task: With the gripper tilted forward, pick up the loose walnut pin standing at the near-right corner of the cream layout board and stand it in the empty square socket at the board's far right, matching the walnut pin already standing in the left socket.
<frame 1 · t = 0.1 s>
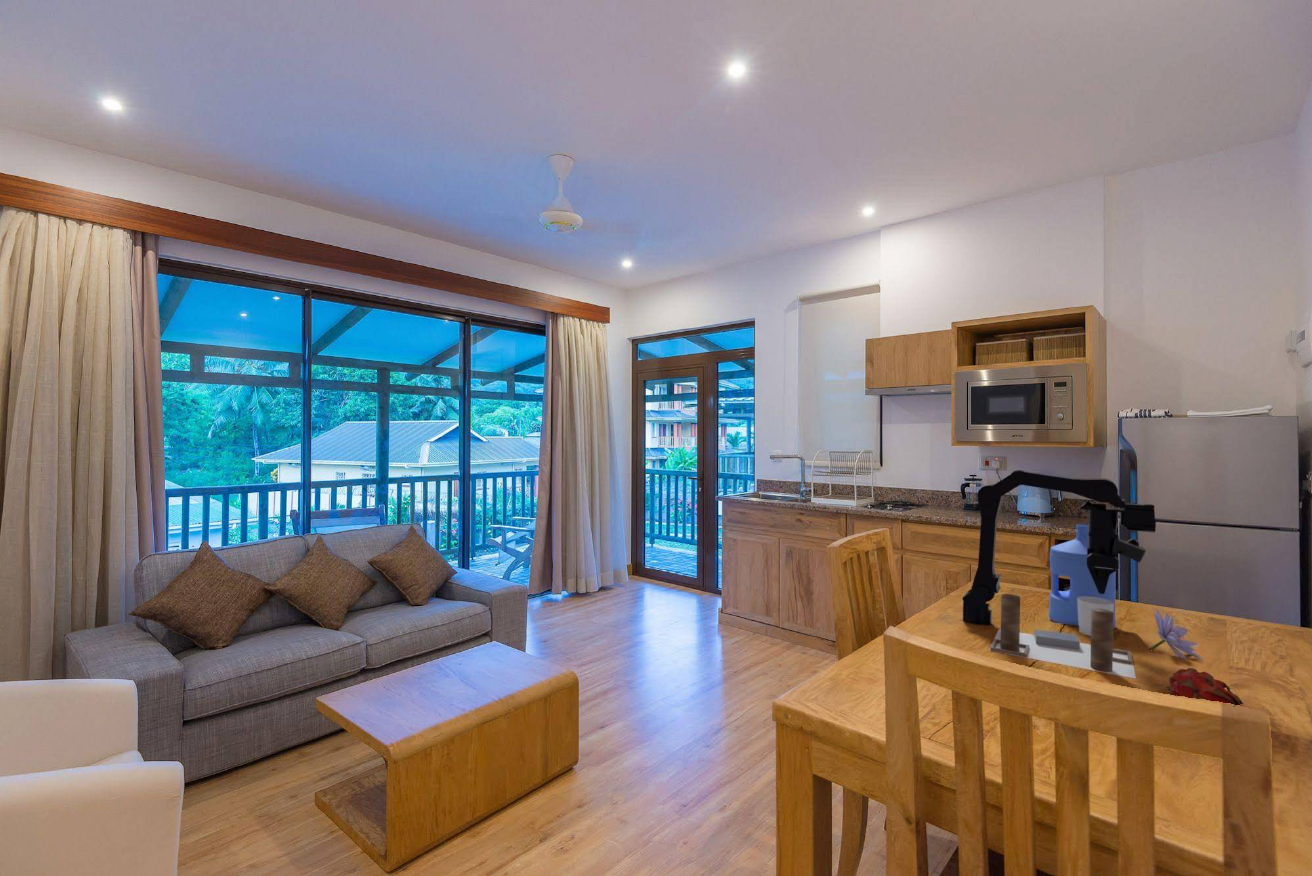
hand: (1101, 589, 153), 15 cm above the table, tool pointing down, fingers open, 9 cm apart
water lily: (1176, 658, 147), on the table
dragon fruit: (1204, 713, 118), on the table
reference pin: (1009, 649, 148), point 1 cm above the table, touching layout board
water jug: (1081, 624, 173), on the table
pin: (1101, 668, 136), point 1 cm above the table, touching layout board
white cup: (1094, 638, 160), on the table
layout board: (1059, 655, 147), on the table
cover: (1056, 643, 152), resting on layout board
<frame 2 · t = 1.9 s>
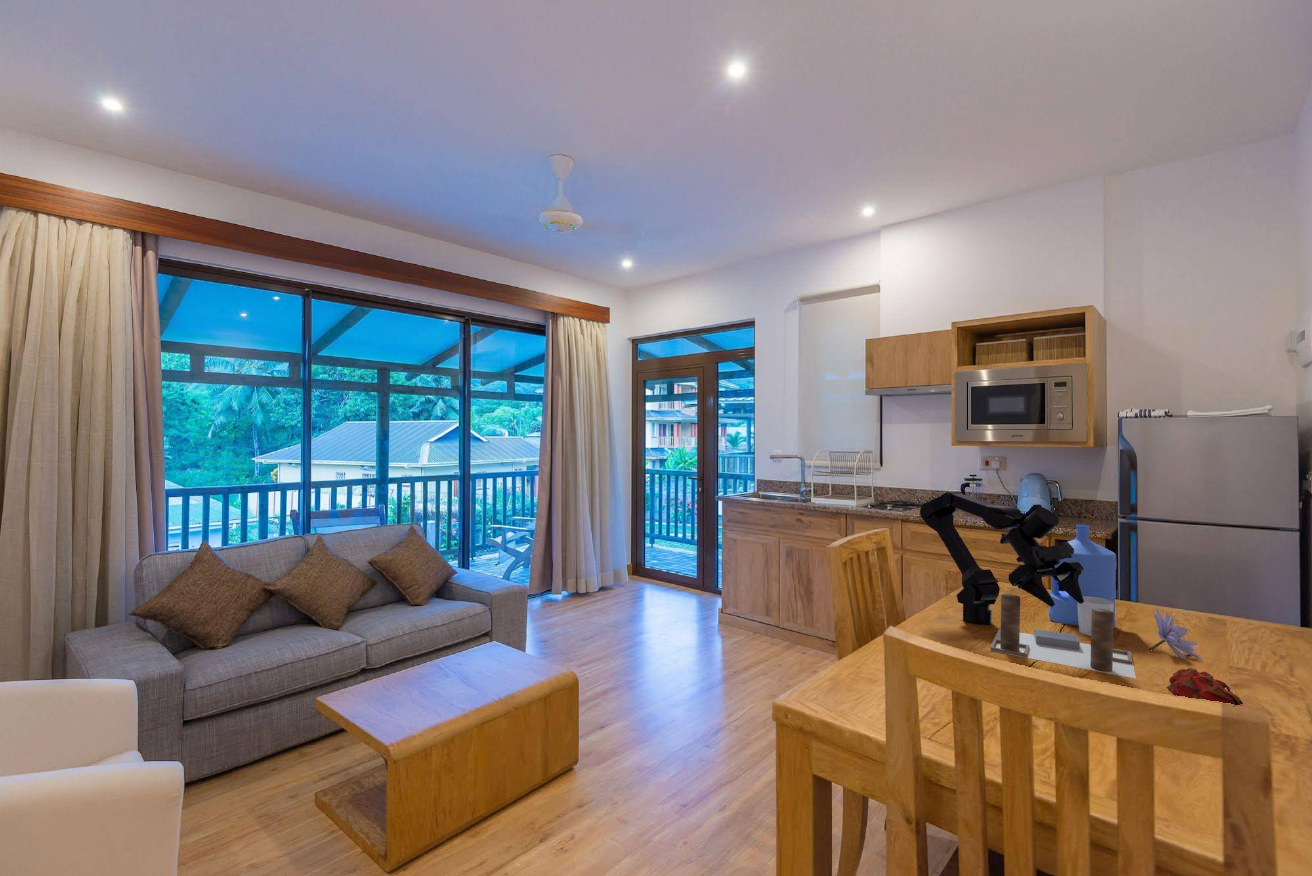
hand: (1067, 604, 144), 13 cm above the table, tool tilted 45°, fingers open, 9 cm apart
nothing on the table moved.
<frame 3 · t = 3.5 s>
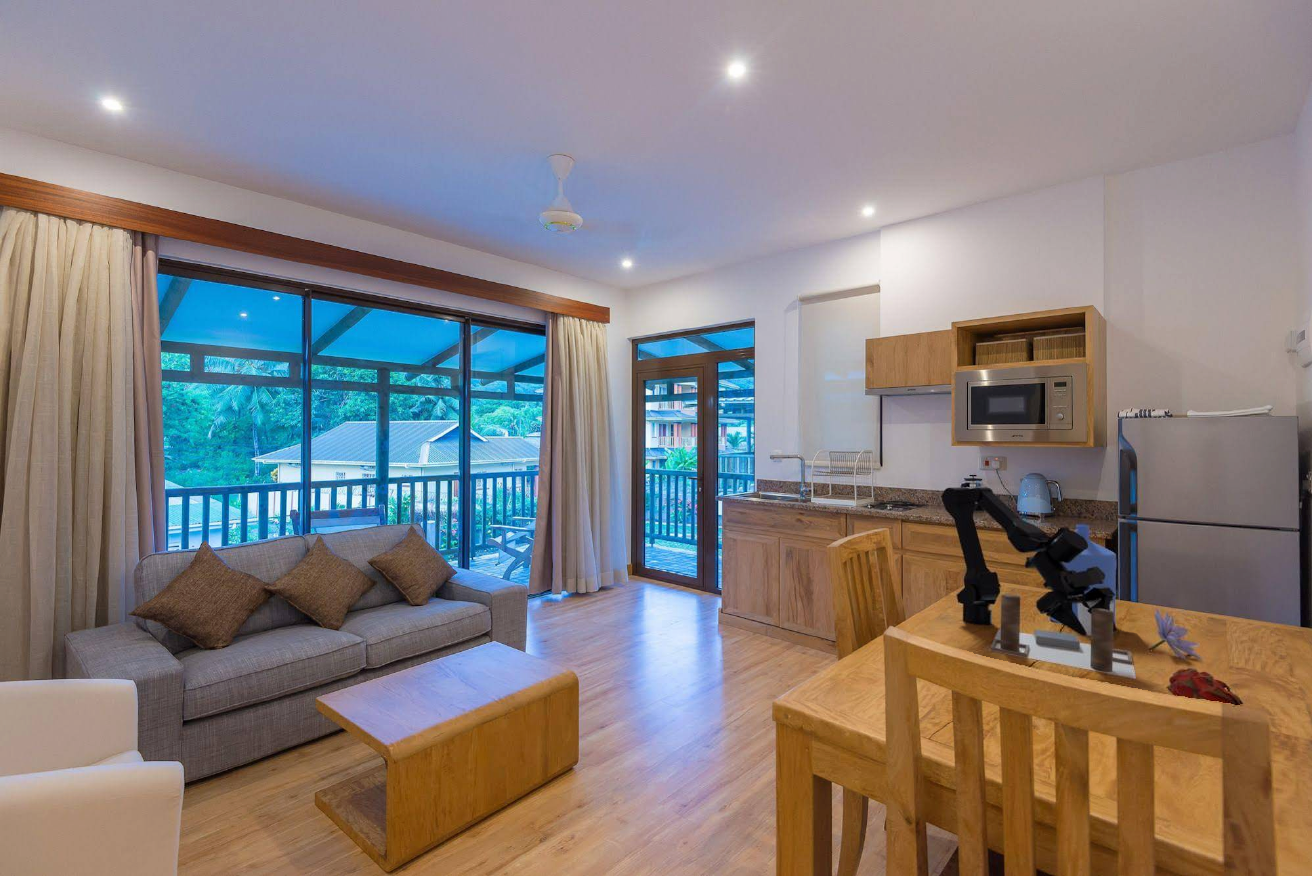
hand: (1100, 633, 136), 9 cm above the table, tool tilted 45°, fingers open, 9 cm apart
nothing on the table moved.
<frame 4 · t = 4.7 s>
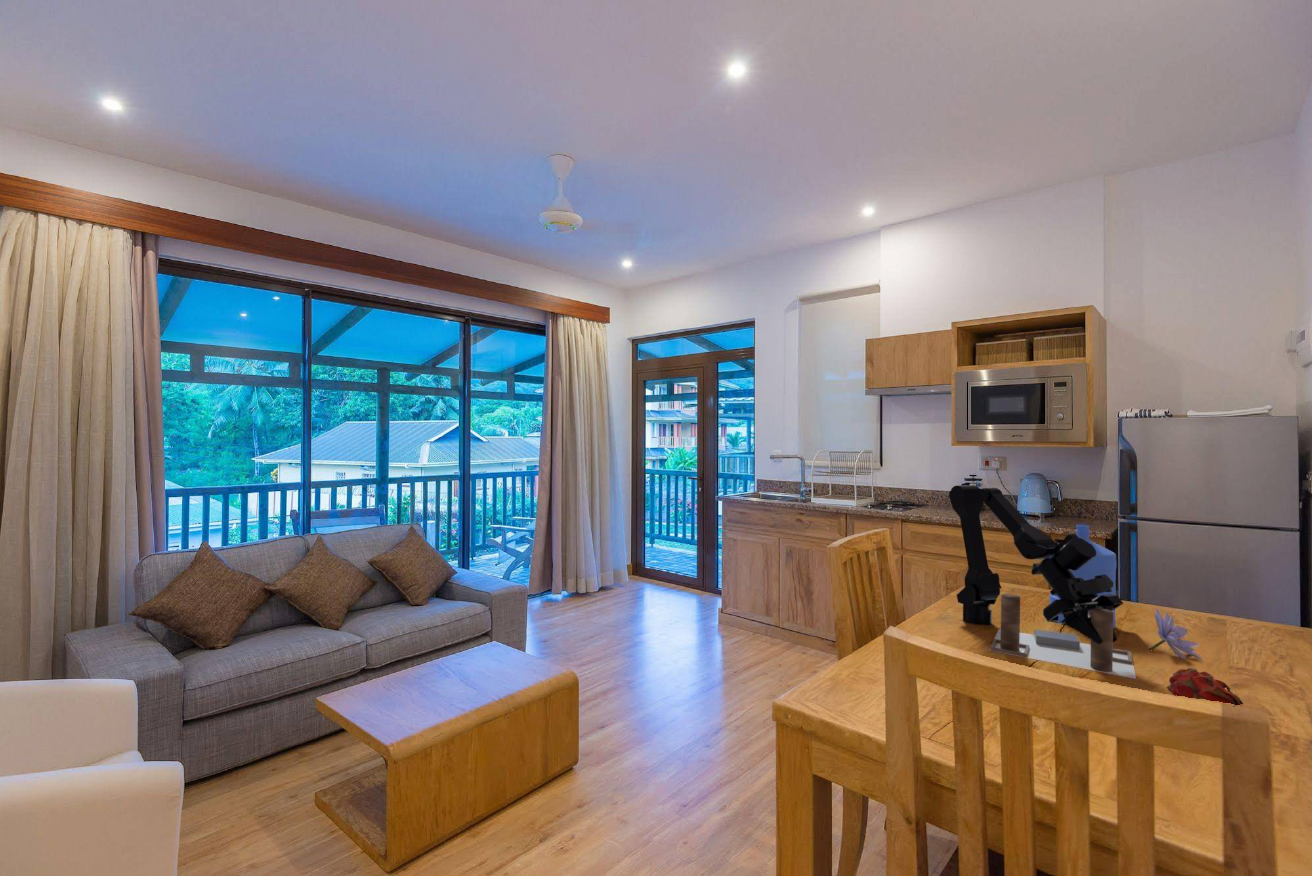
hand: (1108, 642, 135), 8 cm above the table, tool tilted 45°, fingers closed on pin, 4 cm apart
pin: (1101, 668, 136), point 1 cm above the table, touching gripper, layout board
everything else where it was.
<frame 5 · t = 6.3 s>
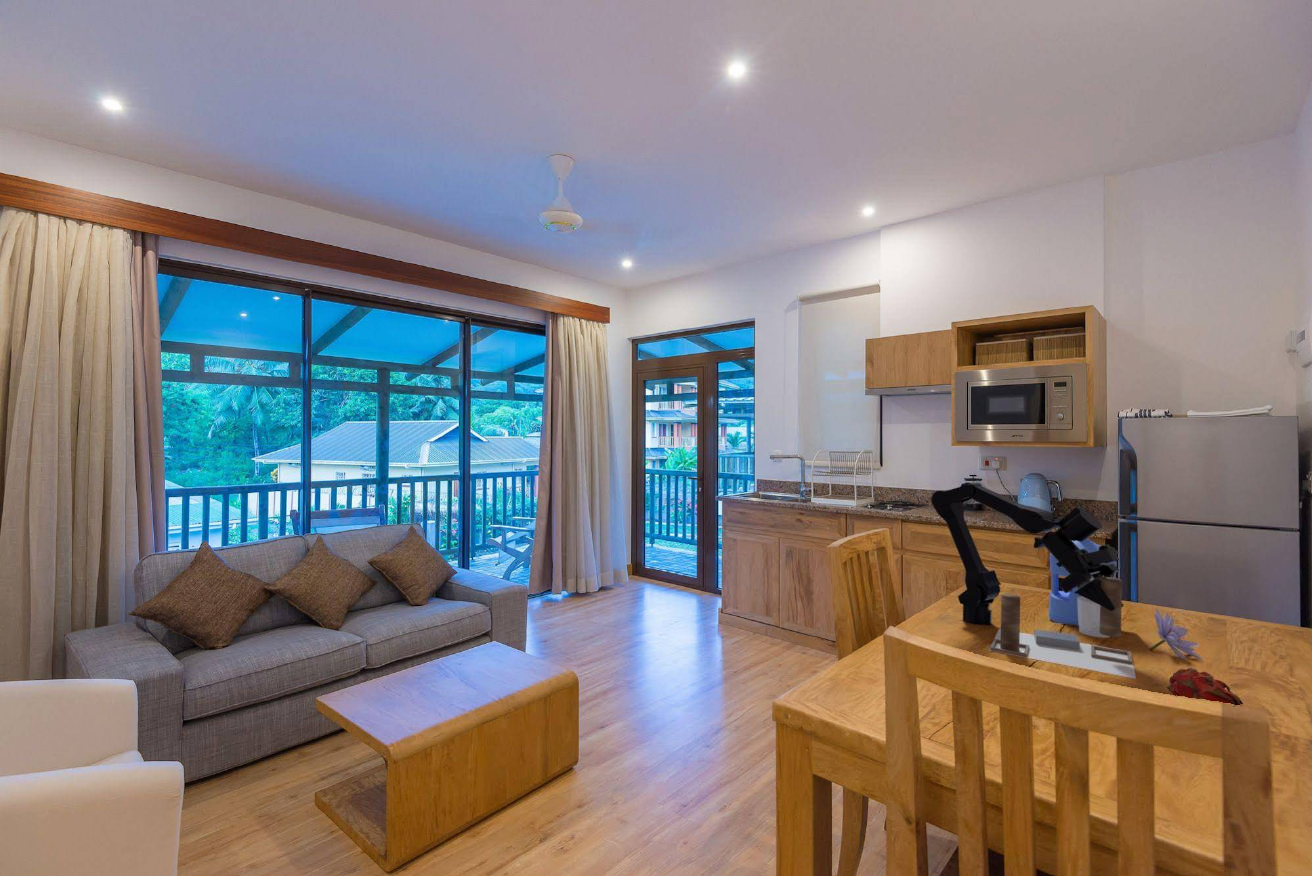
hand: (1117, 608, 141), 13 cm above the table, tool tilted 45°, fingers closed on pin, 4 cm apart
pin: (1110, 634, 142), point 7 cm above the table, touching gripper
everything else where it was.
when the fingers open (9 cm above the table, at t = 7.8 s): pin drops 1 cm, resting on layout board.
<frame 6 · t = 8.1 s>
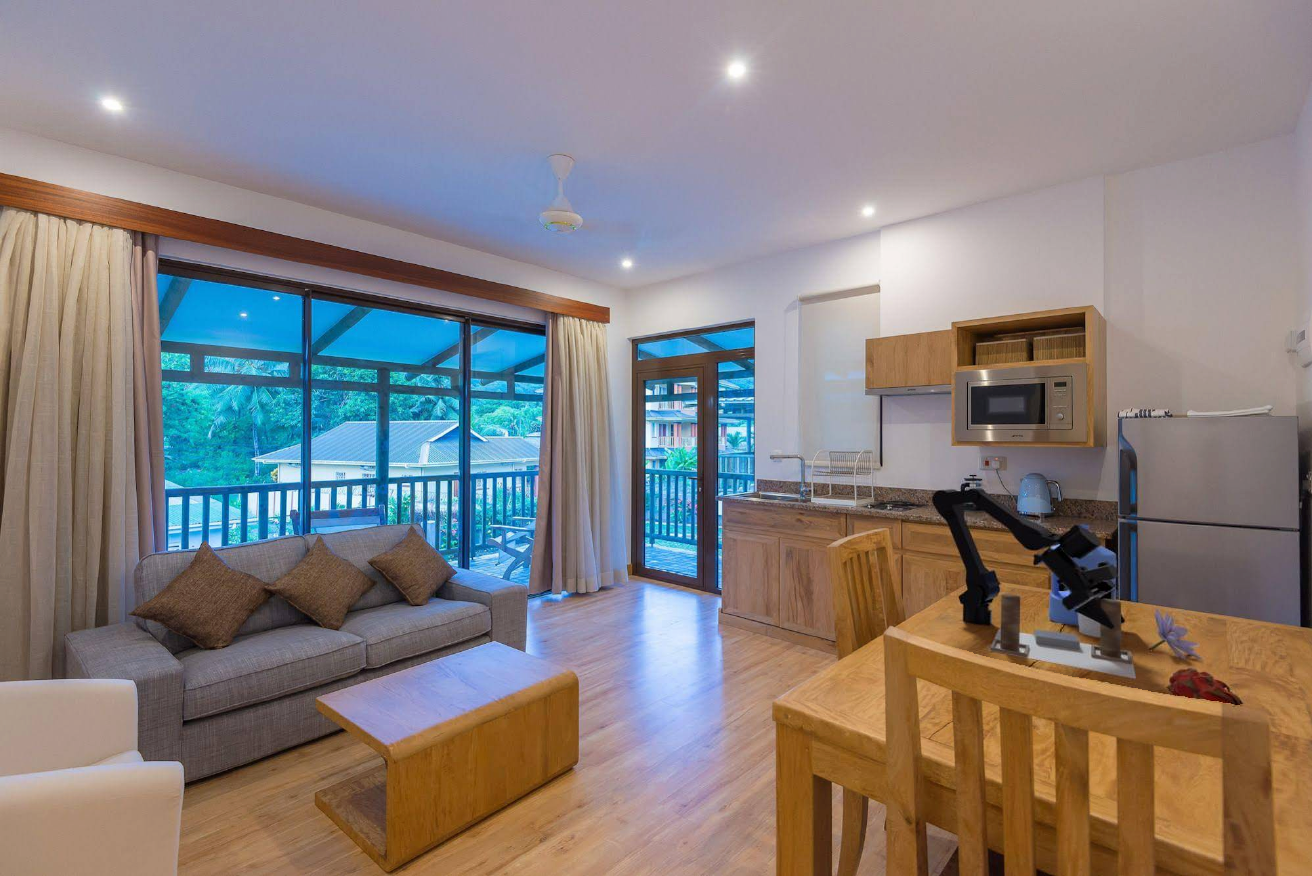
hand: (1118, 625, 143), 9 cm above the table, tool tilted 45°, fingers open, 7 cm apart
pin: (1110, 655, 144), point 1 cm above the table, touching layout board
everything else where it was.
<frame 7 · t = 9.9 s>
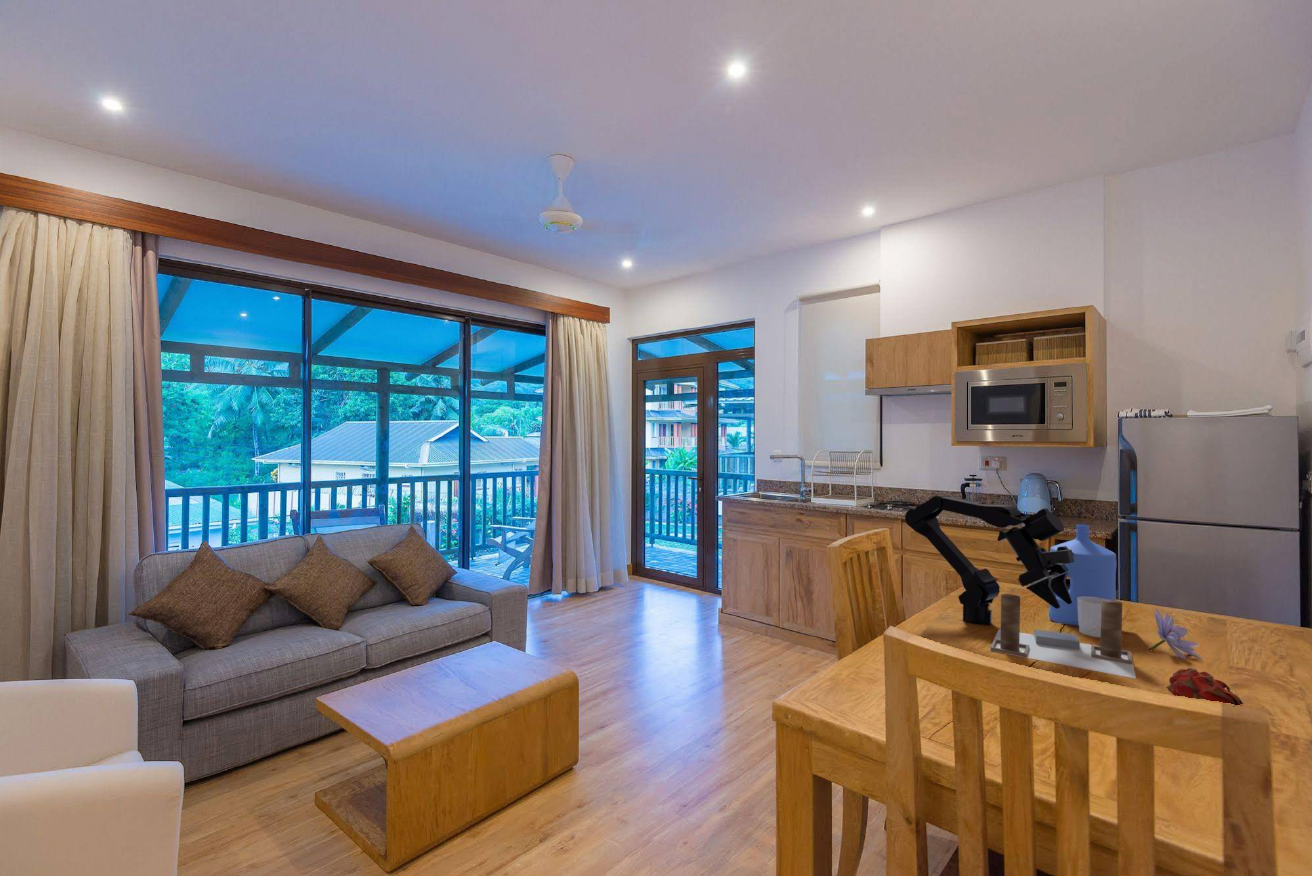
hand: (1064, 605, 151), 11 cm above the table, tool tilted 35°, fingers open, 9 cm apart
nothing on the table moved.
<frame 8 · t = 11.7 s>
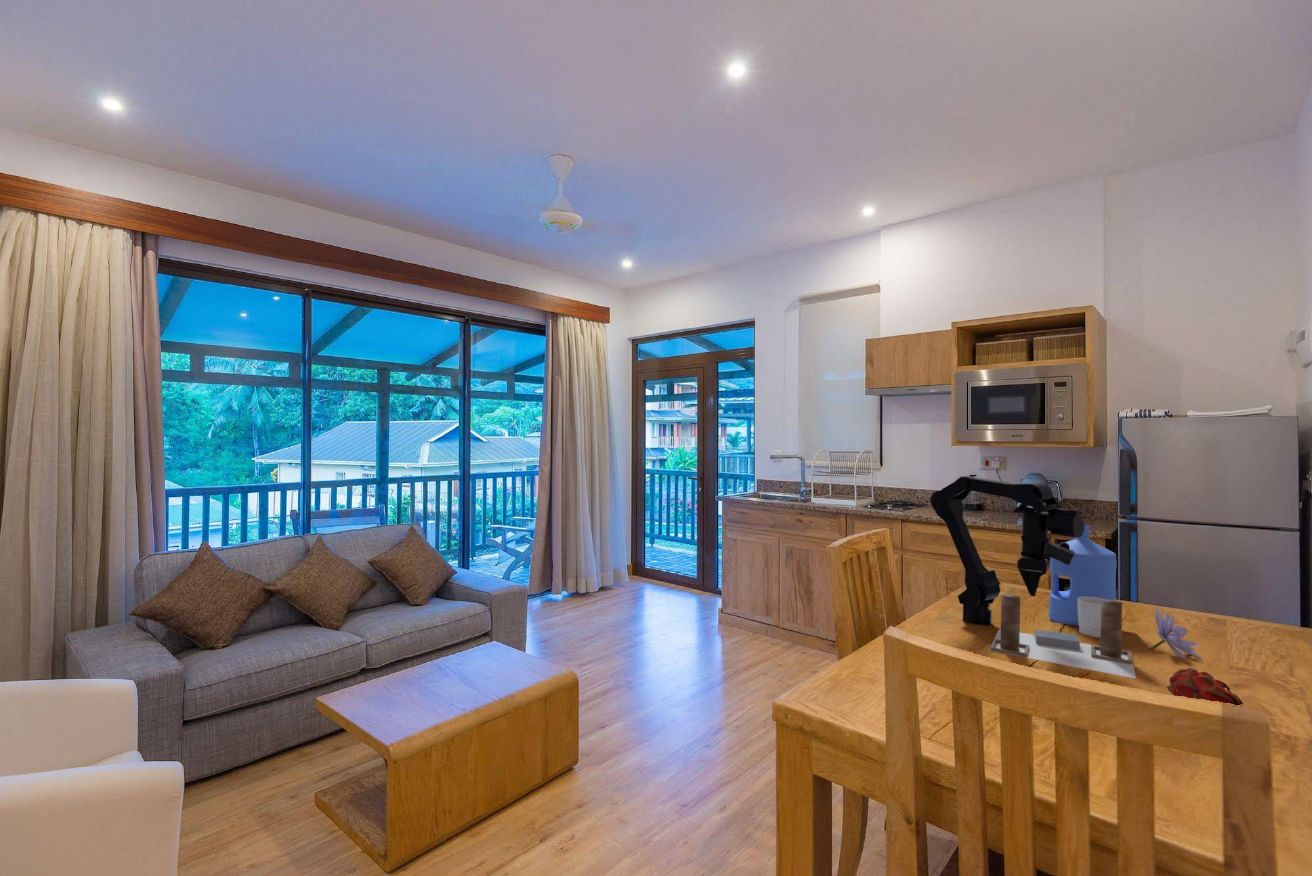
hand: (1034, 592, 156), 13 cm above the table, tool pointing down, fingers open, 9 cm apart
nothing on the table moved.
at the end: pin 0.1 cm from the target spot, point 1.2 cm above the table; pin tilted 0°; the gripper is holding nothing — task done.
